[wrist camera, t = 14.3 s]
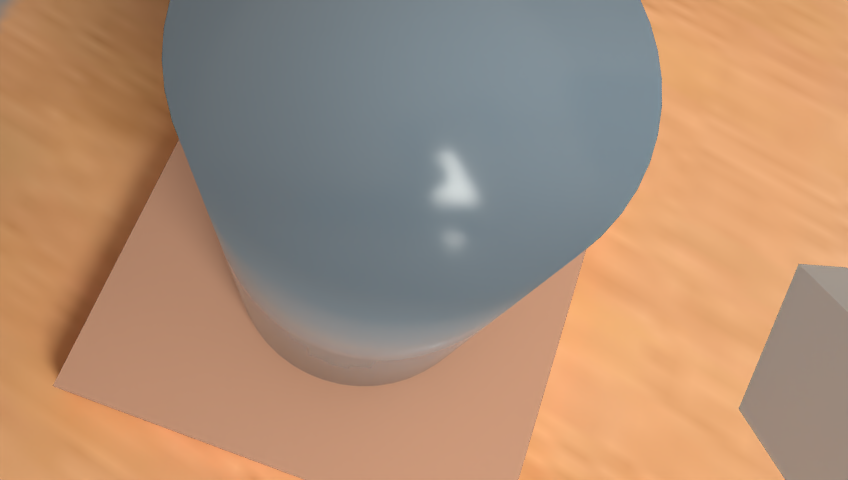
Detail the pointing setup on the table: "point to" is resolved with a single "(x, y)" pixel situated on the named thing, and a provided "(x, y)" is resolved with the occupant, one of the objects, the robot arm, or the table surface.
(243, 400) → the terracotta tile
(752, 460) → the table surface
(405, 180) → the grey canister
